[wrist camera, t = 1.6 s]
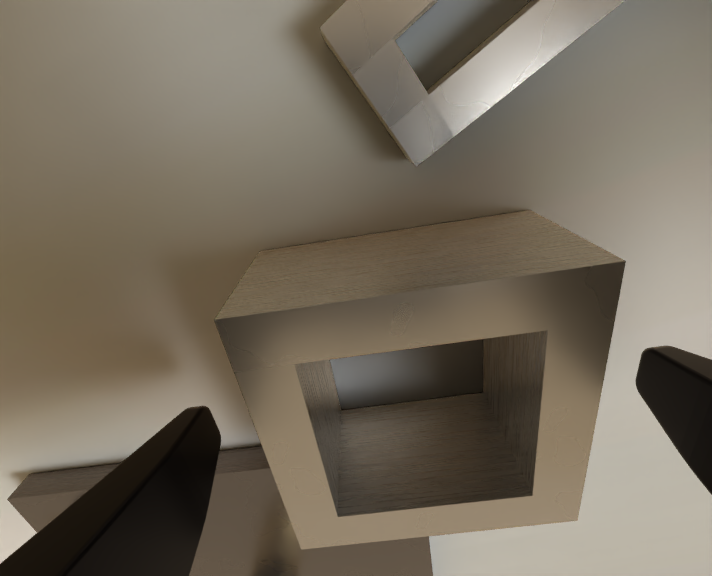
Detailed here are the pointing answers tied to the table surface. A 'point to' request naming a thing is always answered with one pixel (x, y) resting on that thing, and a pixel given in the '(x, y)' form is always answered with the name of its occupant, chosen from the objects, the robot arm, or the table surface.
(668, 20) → the table surface
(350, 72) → the chain tail
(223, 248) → the table surface
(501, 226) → the end link
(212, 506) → the keeper plate
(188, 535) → the robot arm
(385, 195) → the table surface
